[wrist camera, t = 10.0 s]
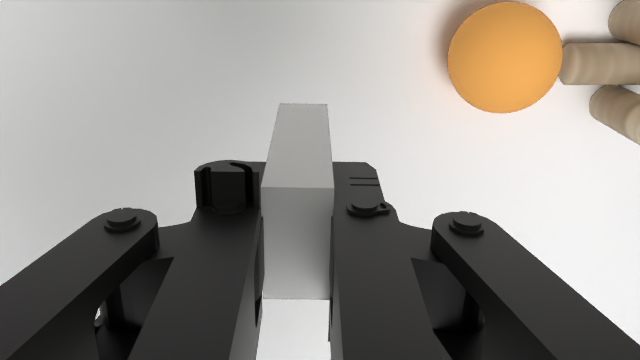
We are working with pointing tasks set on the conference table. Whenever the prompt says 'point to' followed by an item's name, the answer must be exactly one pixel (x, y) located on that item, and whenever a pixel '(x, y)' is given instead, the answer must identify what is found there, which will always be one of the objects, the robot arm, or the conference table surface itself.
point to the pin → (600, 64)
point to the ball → (505, 57)
